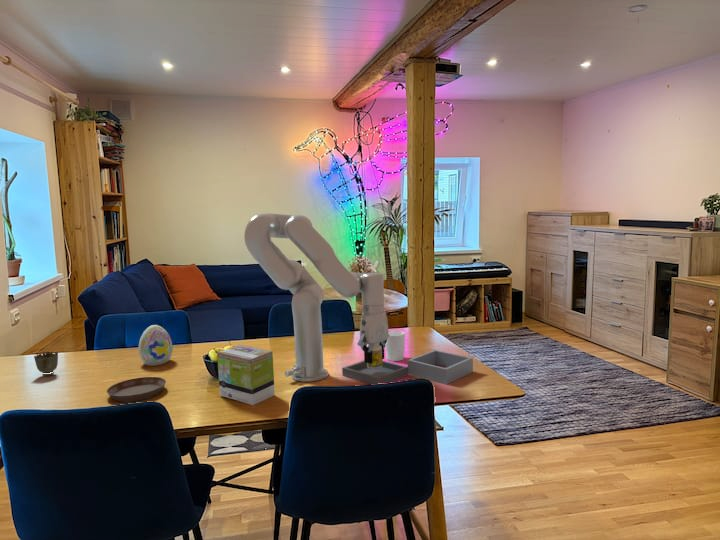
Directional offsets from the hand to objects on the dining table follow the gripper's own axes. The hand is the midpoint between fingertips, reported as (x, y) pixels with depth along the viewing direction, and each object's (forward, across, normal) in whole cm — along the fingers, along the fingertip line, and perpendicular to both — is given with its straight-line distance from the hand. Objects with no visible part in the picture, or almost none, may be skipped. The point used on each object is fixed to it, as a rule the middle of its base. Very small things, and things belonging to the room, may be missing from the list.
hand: (374, 360), depth 175 cm
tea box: (+6, -40, +18) cm, 44 cm away
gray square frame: (+5, +16, -16) cm, 23 cm away
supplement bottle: (+3, 0, 0) cm, 3 cm away
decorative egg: (+6, -43, +76) cm, 87 cm away
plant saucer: (+6, -62, +48) cm, 79 cm away
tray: (+5, 0, 0) cm, 5 cm away
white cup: (+6, +19, +7) cm, 21 cm away
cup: (+6, -76, +93) cm, 120 cm away
